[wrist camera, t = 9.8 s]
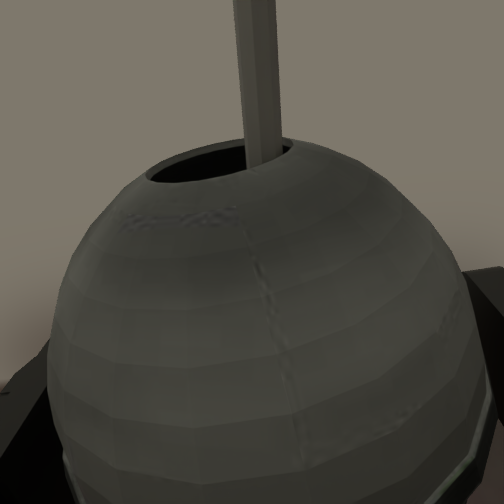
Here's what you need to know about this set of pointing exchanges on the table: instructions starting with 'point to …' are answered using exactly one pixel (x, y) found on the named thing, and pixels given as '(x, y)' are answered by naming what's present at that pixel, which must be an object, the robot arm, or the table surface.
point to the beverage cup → (267, 329)
